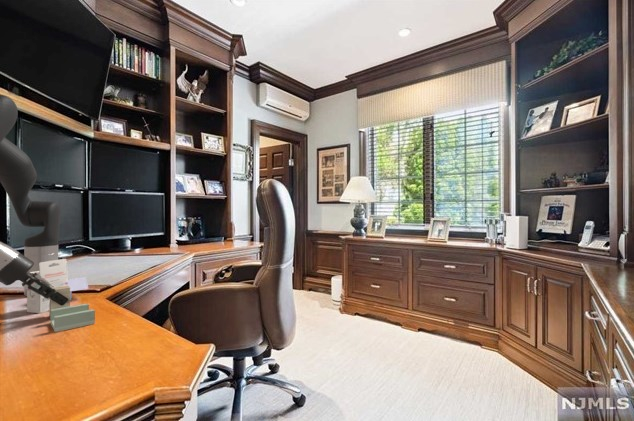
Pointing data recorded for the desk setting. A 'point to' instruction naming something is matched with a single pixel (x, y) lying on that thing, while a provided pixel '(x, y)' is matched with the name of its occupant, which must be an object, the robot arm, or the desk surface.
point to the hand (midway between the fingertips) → (64, 300)
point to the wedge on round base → (77, 284)
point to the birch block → (65, 292)
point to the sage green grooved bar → (71, 317)
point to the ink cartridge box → (54, 277)
